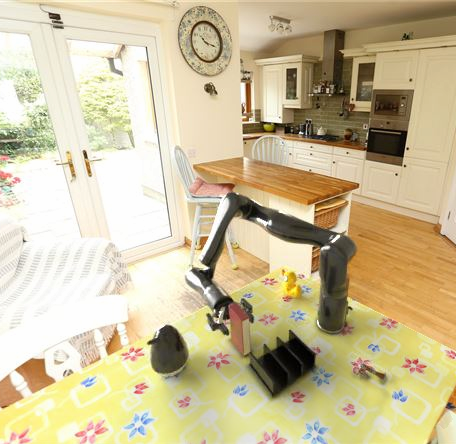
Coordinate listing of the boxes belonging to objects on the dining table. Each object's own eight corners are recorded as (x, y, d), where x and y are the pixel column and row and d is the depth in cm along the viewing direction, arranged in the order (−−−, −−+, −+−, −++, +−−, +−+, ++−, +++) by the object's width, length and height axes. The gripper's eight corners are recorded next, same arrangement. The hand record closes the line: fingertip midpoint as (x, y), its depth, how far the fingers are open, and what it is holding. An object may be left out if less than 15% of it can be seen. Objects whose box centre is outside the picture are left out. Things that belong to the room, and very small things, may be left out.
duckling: (276, 289, 119) (276, 269, 115) (286, 284, 122) (287, 264, 118) (294, 304, 111) (295, 282, 107) (305, 298, 114) (306, 277, 110)
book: (238, 336, 96) (236, 302, 90) (251, 352, 90) (249, 317, 84) (231, 340, 94) (228, 305, 88) (243, 356, 88) (241, 321, 83)
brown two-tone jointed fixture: (352, 369, 84) (361, 360, 82) (377, 381, 84) (386, 372, 82) (353, 375, 82) (361, 365, 80) (378, 387, 82) (387, 377, 80)
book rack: (290, 341, 94) (290, 328, 92) (315, 367, 85) (316, 353, 83) (248, 366, 85) (248, 352, 83) (272, 397, 76) (272, 383, 74)
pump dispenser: (145, 372, 83) (134, 332, 77) (175, 347, 91) (167, 309, 85) (168, 390, 78) (159, 348, 72) (197, 362, 86) (191, 323, 80)
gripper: (196, 298, 94) (218, 327, 82) (235, 283, 102) (260, 307, 90) (198, 316, 97) (220, 347, 86) (236, 300, 105) (260, 326, 93)
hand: (240, 327), depth 88 cm, fingers open, 8 cm apart
